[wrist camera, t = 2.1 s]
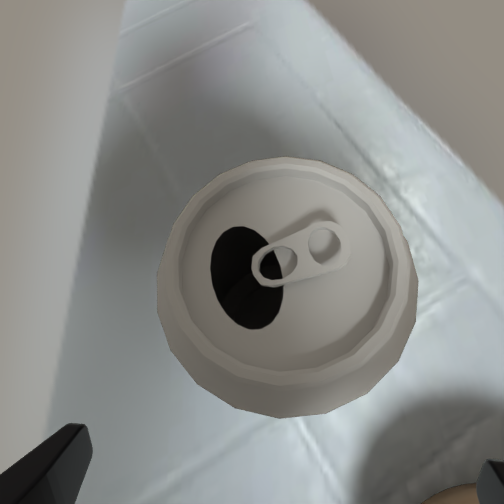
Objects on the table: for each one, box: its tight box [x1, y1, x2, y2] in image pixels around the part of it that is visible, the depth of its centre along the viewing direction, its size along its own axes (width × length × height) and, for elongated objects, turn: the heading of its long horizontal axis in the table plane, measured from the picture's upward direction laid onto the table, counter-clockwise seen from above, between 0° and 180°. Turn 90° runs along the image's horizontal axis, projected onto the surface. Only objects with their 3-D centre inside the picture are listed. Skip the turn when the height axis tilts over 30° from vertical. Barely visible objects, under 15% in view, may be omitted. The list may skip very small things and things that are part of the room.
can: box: [157, 156, 418, 419], centre depth 15 cm, size 8×8×12 cm
